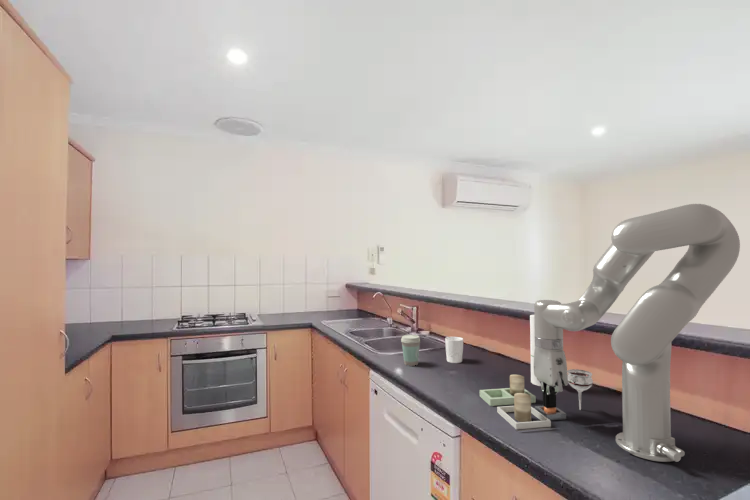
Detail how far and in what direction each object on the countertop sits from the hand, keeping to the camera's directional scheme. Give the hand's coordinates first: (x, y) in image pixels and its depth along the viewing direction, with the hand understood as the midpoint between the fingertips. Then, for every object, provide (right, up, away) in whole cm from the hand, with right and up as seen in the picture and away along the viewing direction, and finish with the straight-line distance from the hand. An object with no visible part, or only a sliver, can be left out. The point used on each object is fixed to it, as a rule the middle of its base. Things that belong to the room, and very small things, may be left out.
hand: (549, 406), depth 108 cm
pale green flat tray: (-8, -4, +12) cm, 15 cm away
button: (0, -3, 0) cm, 3 cm away
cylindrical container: (+10, -4, +26) cm, 28 cm away
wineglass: (+11, -4, +3) cm, 12 cm away
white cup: (-15, -4, +58) cm, 60 cm away
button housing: (0, -3, 0) cm, 3 cm away
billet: (-9, -3, -2) cm, 9 cm away
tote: (-9, -4, -2) cm, 10 cm away
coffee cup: (-35, -5, +55) cm, 65 cm away
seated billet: (-5, -3, +12) cm, 13 cm away
